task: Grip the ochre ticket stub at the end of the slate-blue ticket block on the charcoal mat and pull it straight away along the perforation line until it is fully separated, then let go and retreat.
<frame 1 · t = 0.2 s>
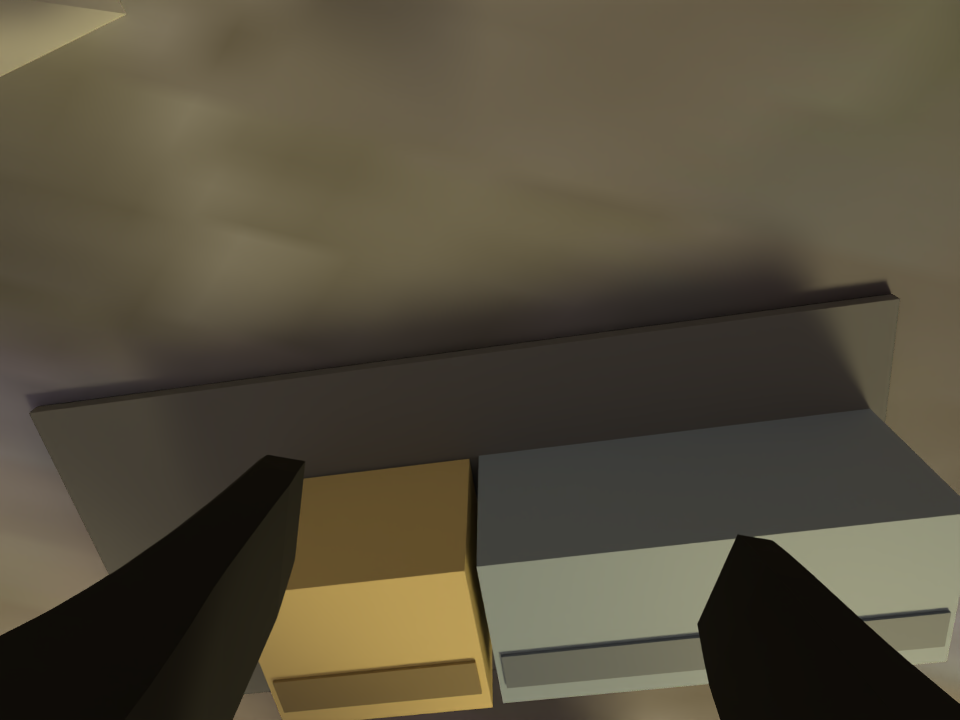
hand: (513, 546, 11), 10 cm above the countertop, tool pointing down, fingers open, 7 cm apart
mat: (477, 524, 23), on the countertop
ticket block: (672, 497, 22), resting on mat
stub: (381, 587, 21), point 3 cm above the countertop, slide at 0.0 cm
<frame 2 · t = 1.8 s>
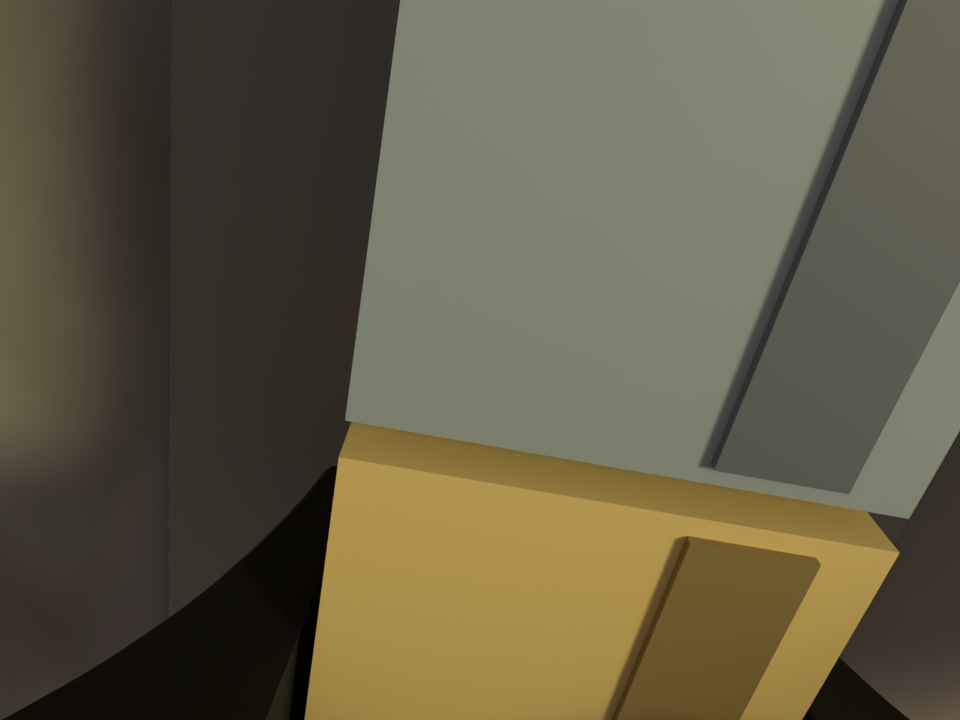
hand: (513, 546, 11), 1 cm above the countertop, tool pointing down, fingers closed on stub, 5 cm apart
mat: (591, 309, 11), on the countertop
stub: (532, 570, 9), point 3 cm above the countertop, slide at 0.0 cm, touching gripper
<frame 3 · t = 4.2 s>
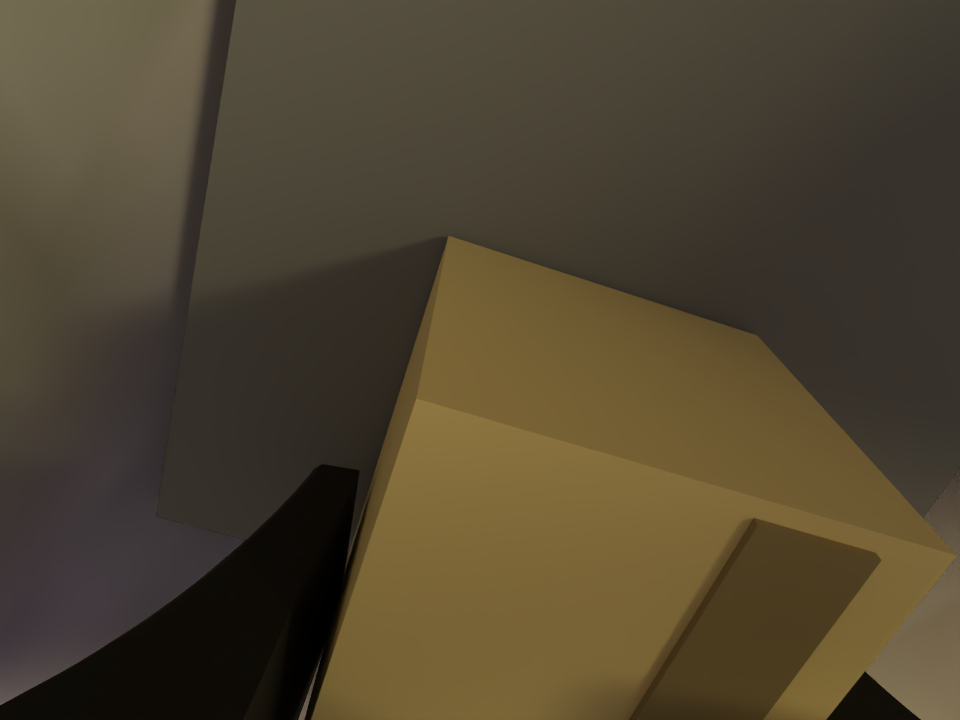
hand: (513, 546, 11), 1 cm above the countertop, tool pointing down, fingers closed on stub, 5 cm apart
stub: (551, 550, 9), point 3 cm above the countertop, slide at 6.6 cm, touching gripper
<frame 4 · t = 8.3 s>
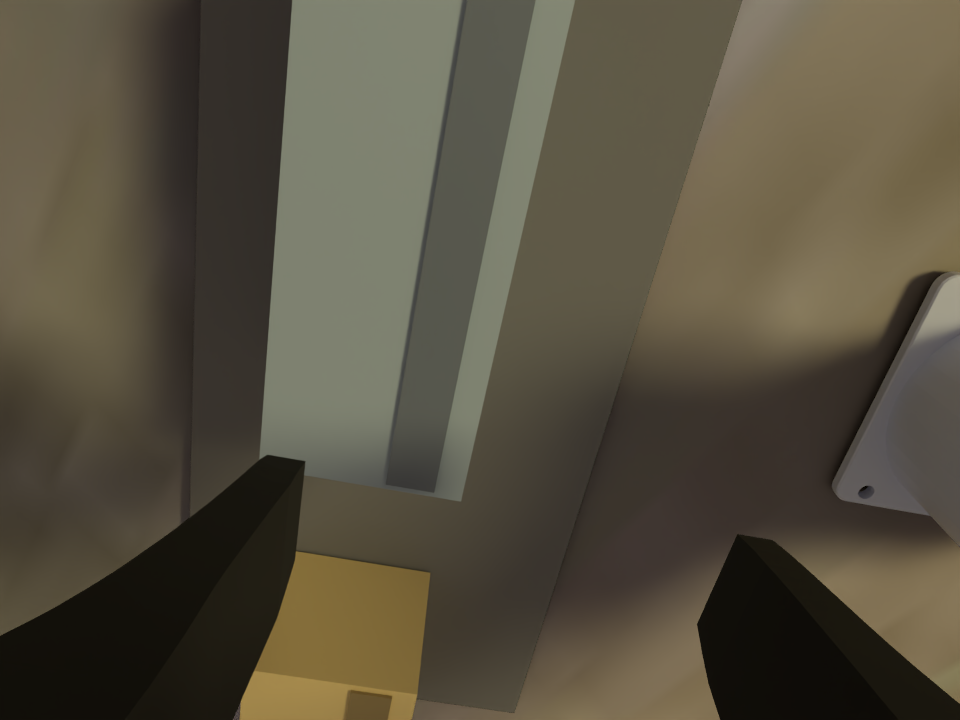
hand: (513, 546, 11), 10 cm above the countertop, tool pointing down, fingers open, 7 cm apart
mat: (402, 400, 22), on the countertop
ticket block: (417, 200, 19), resting on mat
stub: (336, 681, 23), point 3 cm above the countertop, slide at 6.6 cm
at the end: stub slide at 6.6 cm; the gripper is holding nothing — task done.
